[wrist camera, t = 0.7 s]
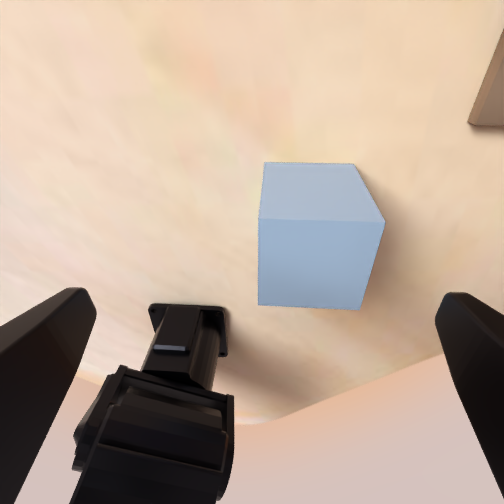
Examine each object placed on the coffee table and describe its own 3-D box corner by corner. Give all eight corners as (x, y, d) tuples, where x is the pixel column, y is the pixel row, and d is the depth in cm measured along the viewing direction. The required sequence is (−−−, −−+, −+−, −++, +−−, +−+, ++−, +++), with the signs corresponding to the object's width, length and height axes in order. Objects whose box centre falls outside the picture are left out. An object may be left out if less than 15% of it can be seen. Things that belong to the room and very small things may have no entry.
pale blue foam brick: (339, 238, 21) (359, 310, 15) (263, 235, 21) (257, 305, 16) (353, 163, 18) (385, 222, 12) (264, 162, 18) (258, 218, 13)
